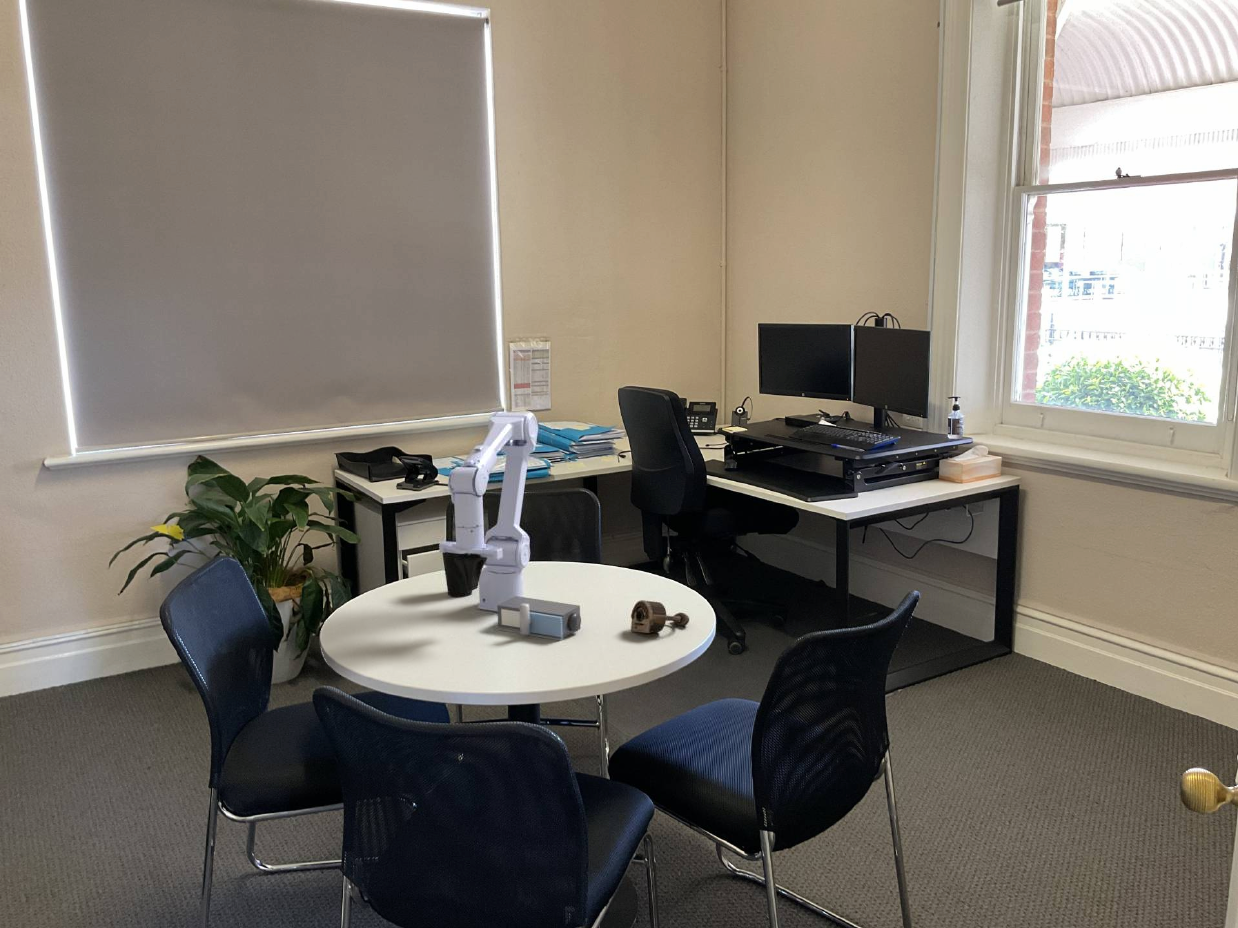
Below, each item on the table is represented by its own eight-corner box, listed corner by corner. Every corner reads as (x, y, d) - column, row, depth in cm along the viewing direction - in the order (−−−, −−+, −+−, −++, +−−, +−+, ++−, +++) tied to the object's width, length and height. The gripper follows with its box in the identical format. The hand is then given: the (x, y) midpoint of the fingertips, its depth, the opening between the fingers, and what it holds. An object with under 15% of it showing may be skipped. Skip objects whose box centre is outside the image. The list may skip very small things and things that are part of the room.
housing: (495, 629, 208) (494, 606, 207) (516, 618, 215) (515, 595, 214) (565, 641, 200) (565, 617, 199) (585, 629, 207) (584, 606, 206)
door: (518, 635, 202) (517, 605, 201) (527, 630, 205) (526, 601, 204) (554, 641, 198) (553, 611, 197) (562, 636, 201) (562, 606, 200)
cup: (483, 591, 234) (481, 542, 232) (461, 600, 228) (459, 550, 226) (458, 587, 238) (456, 538, 236) (436, 595, 232) (434, 545, 230)
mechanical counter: (622, 600, 209) (631, 604, 199) (680, 589, 212) (692, 593, 202) (627, 633, 209) (637, 639, 199) (685, 623, 211) (698, 628, 201)
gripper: (428, 525, 202) (432, 589, 204) (487, 532, 195) (490, 598, 198) (449, 518, 208) (452, 580, 211) (507, 525, 202) (509, 589, 204)
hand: (472, 588), depth 205 cm, fingers closed
